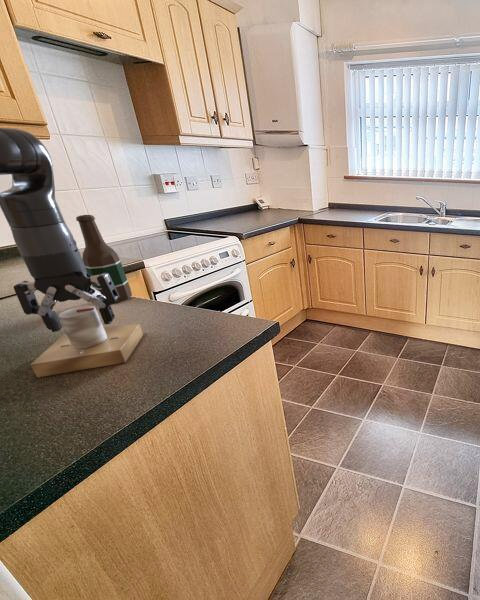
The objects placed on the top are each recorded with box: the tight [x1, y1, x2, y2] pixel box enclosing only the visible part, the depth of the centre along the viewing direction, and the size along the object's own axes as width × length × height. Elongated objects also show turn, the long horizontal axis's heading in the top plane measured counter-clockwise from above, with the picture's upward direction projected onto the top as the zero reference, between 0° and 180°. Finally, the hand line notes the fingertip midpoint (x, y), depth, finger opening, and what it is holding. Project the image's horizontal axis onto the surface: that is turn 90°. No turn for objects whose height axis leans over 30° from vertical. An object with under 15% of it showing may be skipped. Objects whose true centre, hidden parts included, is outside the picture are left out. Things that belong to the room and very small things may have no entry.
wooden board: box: [30, 323, 144, 378], centre depth 70 cm, size 14×12×3 cm
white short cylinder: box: [57, 305, 107, 349], centre depth 68 cm, size 6×6×7 cm
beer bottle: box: [75, 214, 133, 304], centre depth 93 cm, size 8×8×24 cm
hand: (84, 326), depth 68 cm, fingers open, 8 cm apart
